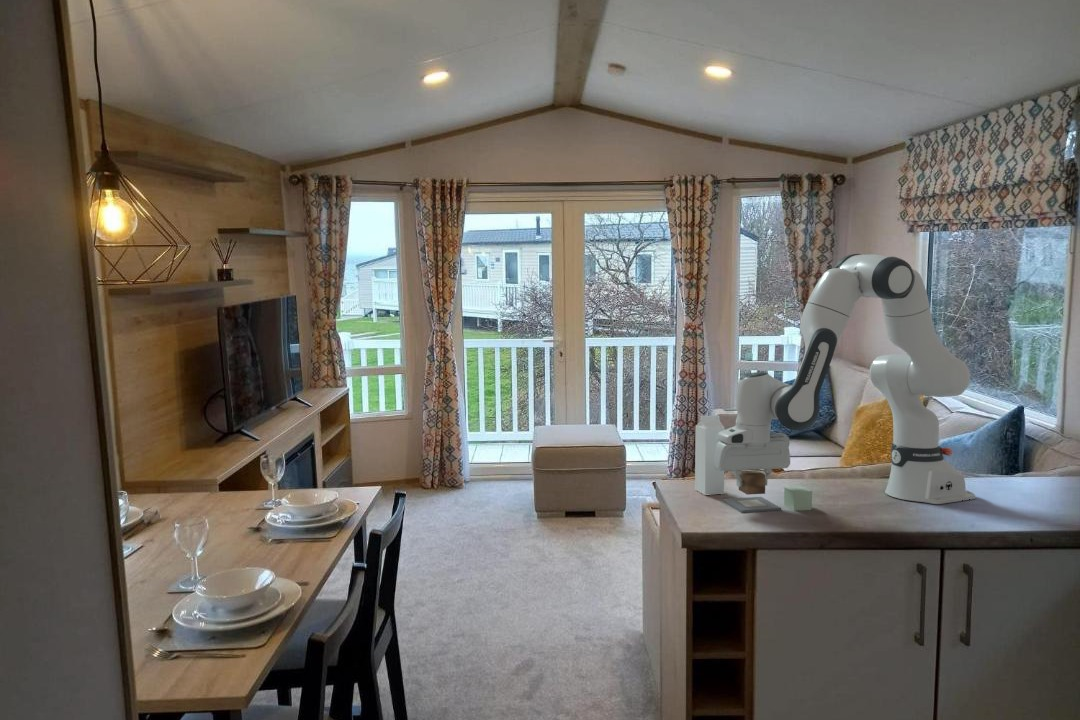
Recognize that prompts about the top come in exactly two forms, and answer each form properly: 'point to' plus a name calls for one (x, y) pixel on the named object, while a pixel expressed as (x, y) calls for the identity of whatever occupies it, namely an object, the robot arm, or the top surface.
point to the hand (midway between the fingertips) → (751, 485)
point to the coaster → (751, 504)
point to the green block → (798, 498)
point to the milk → (708, 456)
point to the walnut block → (753, 482)
